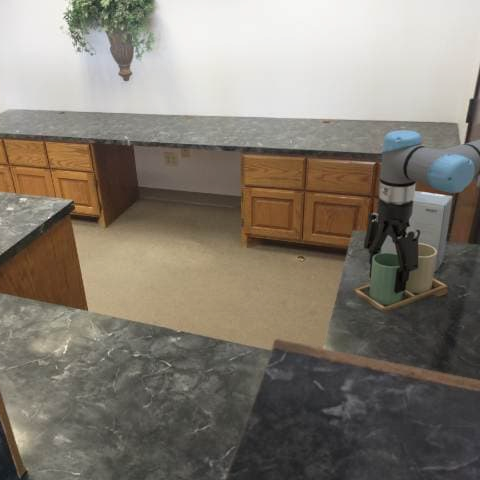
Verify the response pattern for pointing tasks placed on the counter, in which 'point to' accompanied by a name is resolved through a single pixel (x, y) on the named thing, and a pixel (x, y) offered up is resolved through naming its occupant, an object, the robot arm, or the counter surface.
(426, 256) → the cream cup
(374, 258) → the green cup
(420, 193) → the hard drive box
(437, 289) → the cup holder
